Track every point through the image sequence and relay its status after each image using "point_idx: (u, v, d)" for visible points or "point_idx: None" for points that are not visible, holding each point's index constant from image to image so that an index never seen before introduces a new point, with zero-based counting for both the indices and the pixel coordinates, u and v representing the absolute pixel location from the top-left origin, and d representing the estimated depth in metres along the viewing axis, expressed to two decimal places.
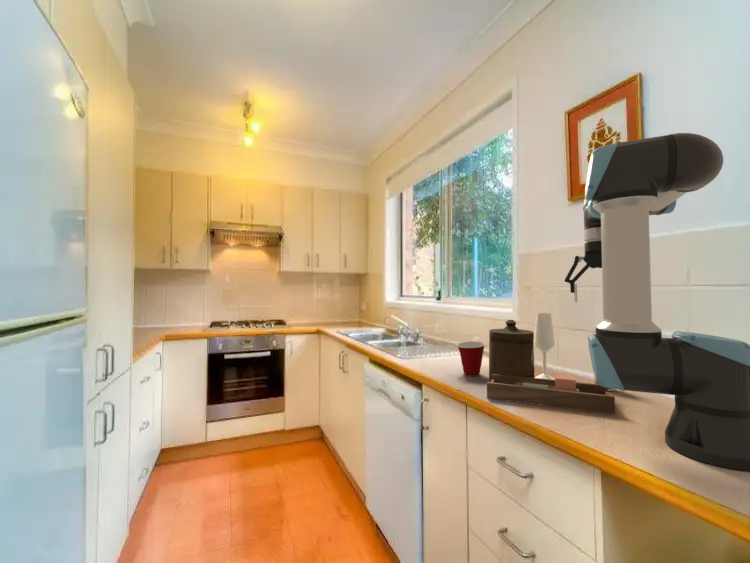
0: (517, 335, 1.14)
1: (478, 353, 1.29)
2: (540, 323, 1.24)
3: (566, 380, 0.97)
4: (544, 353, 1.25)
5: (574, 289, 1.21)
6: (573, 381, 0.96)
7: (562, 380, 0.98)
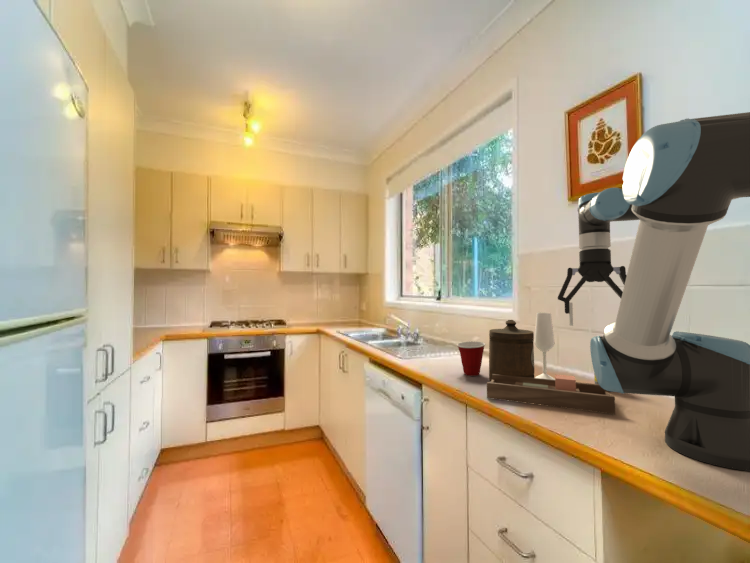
0: (517, 335, 1.14)
1: (478, 353, 1.29)
2: (540, 323, 1.24)
3: (566, 380, 0.97)
4: (544, 353, 1.25)
5: (569, 309, 0.99)
6: (573, 381, 0.96)
7: (562, 380, 0.98)
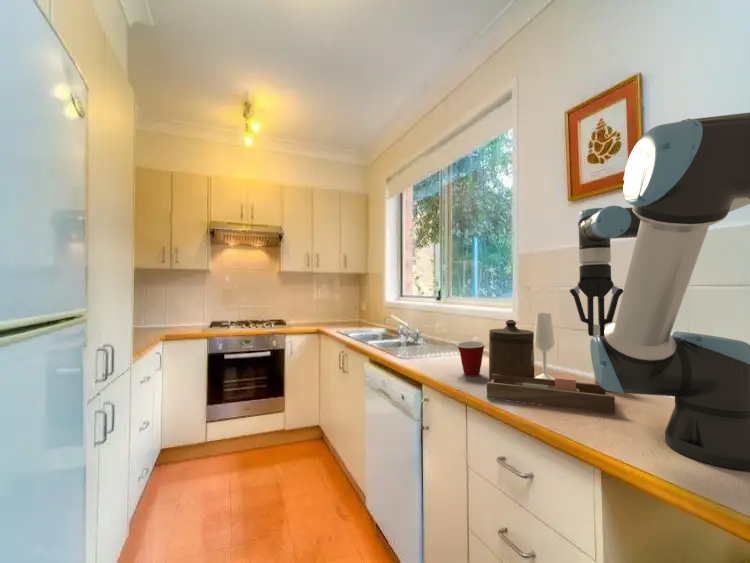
0: (517, 335, 1.14)
1: (478, 353, 1.29)
2: (540, 323, 1.24)
3: (566, 380, 0.97)
4: (544, 353, 1.25)
5: (593, 332, 0.96)
6: (573, 381, 0.96)
7: (562, 380, 0.98)
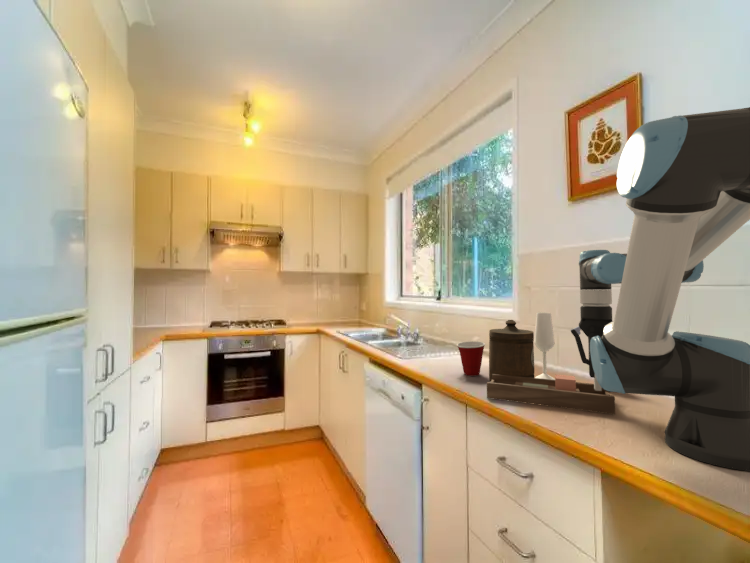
0: (517, 335, 1.14)
1: (478, 353, 1.29)
2: (540, 323, 1.24)
3: (566, 380, 0.97)
4: (544, 353, 1.25)
5: (594, 373, 0.95)
6: (573, 381, 0.96)
7: (562, 380, 0.98)
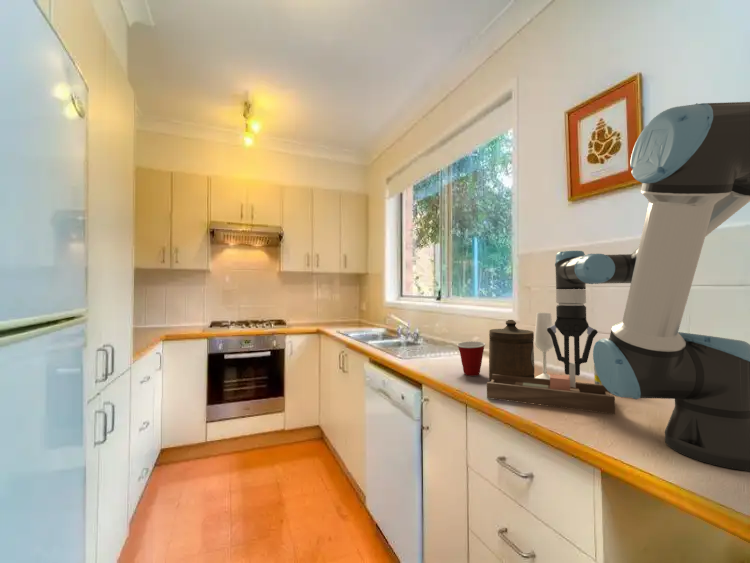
0: (517, 335, 1.14)
1: (478, 353, 1.29)
2: (540, 323, 1.24)
3: (560, 379, 0.98)
4: (544, 353, 1.25)
5: (569, 371, 0.98)
6: (567, 380, 0.97)
7: (556, 379, 0.98)
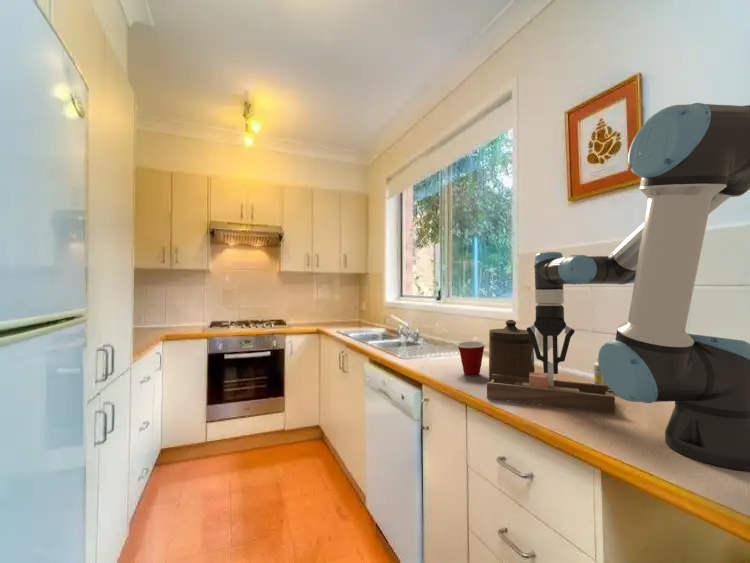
0: (517, 335, 1.14)
1: (478, 353, 1.29)
2: None
3: (539, 377, 1.00)
4: None
5: (547, 369, 1.01)
6: (545, 378, 1.00)
7: (535, 377, 1.01)
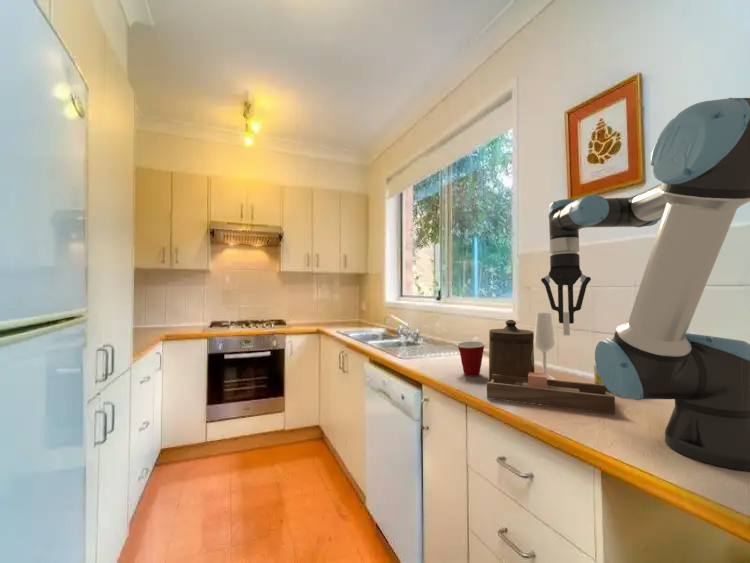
0: (517, 335, 1.14)
1: (478, 353, 1.29)
2: (540, 323, 1.24)
3: (538, 377, 1.00)
4: (544, 353, 1.25)
5: (563, 319, 0.99)
6: (544, 378, 1.00)
7: (534, 377, 1.01)
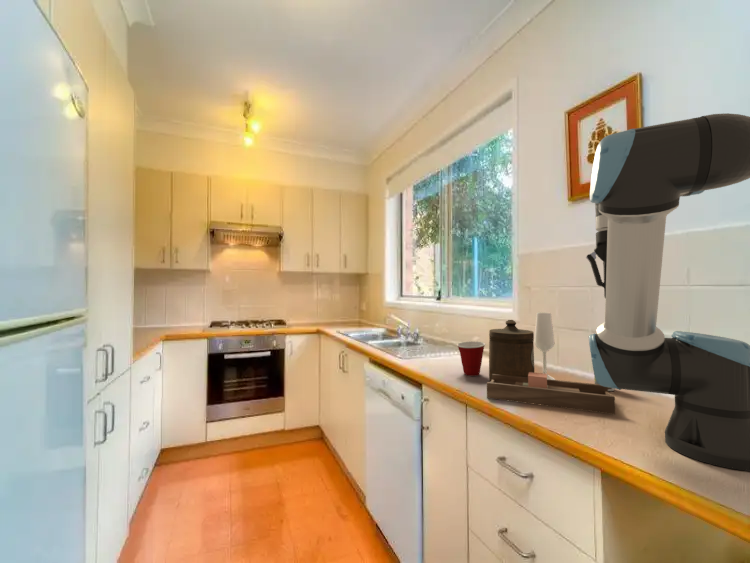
0: (517, 335, 1.14)
1: (478, 353, 1.29)
2: (540, 323, 1.24)
3: (538, 377, 1.00)
4: (544, 353, 1.25)
5: None
6: (544, 378, 1.00)
7: (534, 377, 1.01)
